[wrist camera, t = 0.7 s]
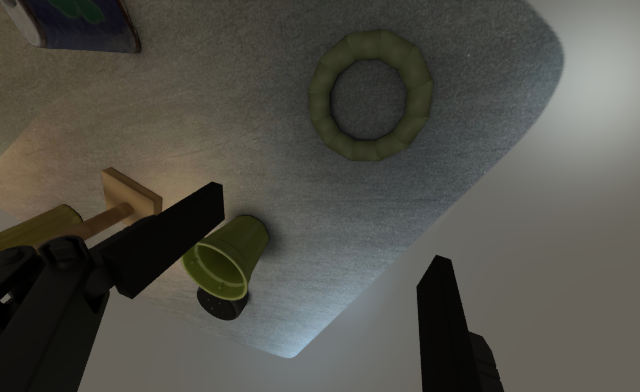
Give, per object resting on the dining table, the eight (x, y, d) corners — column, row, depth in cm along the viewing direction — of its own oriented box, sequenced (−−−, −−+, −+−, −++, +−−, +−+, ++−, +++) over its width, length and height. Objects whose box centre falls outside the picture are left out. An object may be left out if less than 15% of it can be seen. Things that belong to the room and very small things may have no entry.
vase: (60, 199, 48) (-52, 242, 36) (85, 218, 49) (-17, 267, 37) (59, 214, 52) (-44, 259, 40) (83, 232, 52) (-11, 281, 40)
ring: (344, 6, 19) (338, 1, 18) (460, 71, 19) (465, 72, 17) (297, 124, 25) (289, 129, 24) (384, 175, 25) (383, 183, 24)
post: (110, 167, 38) (-23, 213, 26) (162, 197, 38) (50, 258, 26) (115, 209, 44) (6, 263, 32) (160, 236, 44) (67, 301, 32)
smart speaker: (258, 296, 43) (246, 315, 40) (235, 309, 48) (223, 327, 45) (222, 264, 42) (206, 281, 39) (202, 281, 47) (187, 297, 43)
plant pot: (266, 264, 38) (235, 311, 31) (218, 233, 38) (175, 272, 31) (289, 229, 33) (257, 275, 26) (233, 193, 33) (185, 228, 26)
